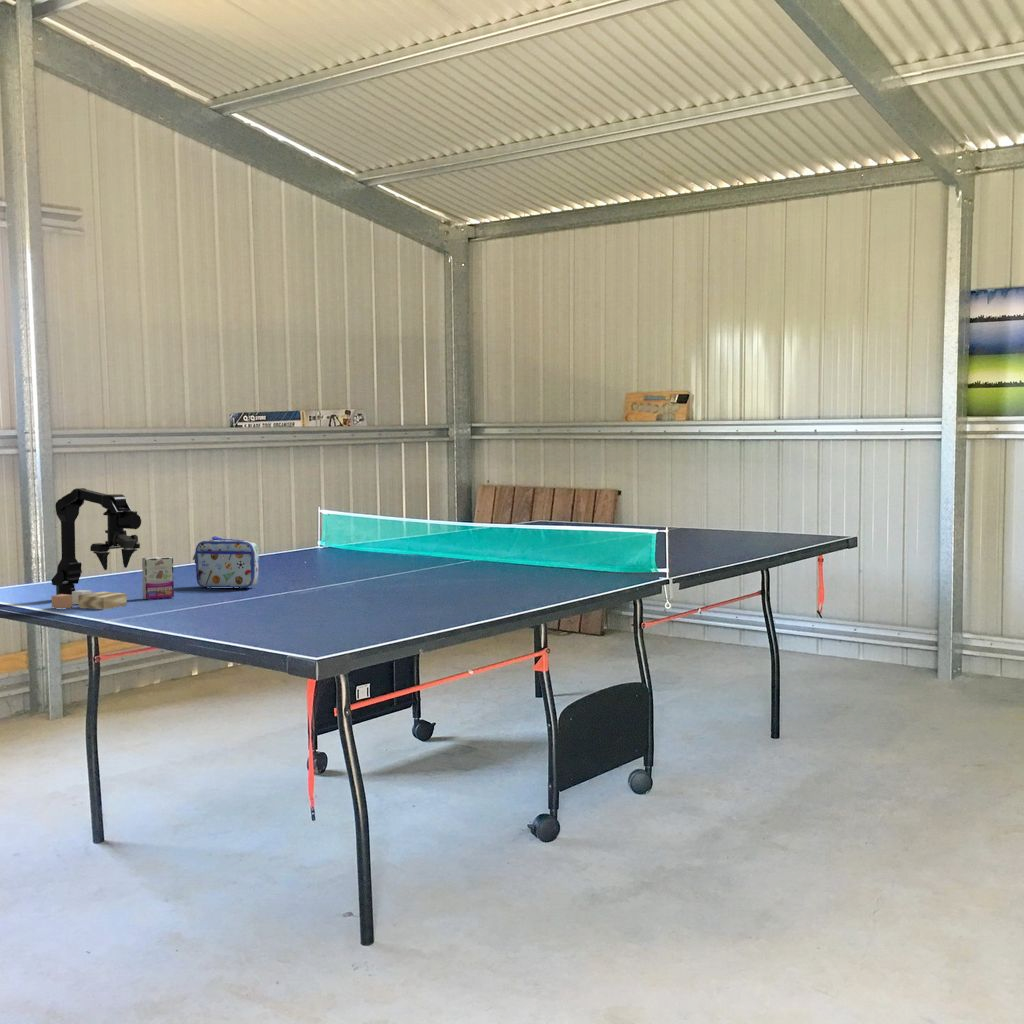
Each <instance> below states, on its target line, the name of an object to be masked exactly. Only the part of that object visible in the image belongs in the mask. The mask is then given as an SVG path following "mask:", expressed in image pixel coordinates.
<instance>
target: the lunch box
mask: <svg viewBox="0 0 1024 1024" xmlns="http://www.w3.org/2000/svg"><path fill="white" fill-rule="evenodd" d="M259 550H260V549H259V546H258V545H257V543H255V542H253V541H250V540H242V539H241V540H240V539H233V538H222V537H219V536H215V535H214V536H212V537H211V539H208V540H202V541H200V542H198V544H196V547H195V551H194V554H193V557H192V560H193V561H194V564H195V571H196V572H195V573H196V576H195V577H196V582H197V584H198V586H199V587H201V588H203V587H240V588H239V589H246V588H250V587H253V586H255V585H256V584H257V583H258V581H259V557H260V555H259V554H260V551H259ZM249 586H250V587H249Z"/></svg>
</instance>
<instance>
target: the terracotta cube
mask: <svg viewBox="0 0 1024 1024" xmlns="http://www.w3.org/2000/svg"><path fill="white" fill-rule="evenodd" d="M52 607H54V608H62V609H63V608H70V609H72V608H73V604H72V595H67V594H60V595H56V594H55V595H54V594H53V595H51V608H52ZM71 607H72V608H71Z"/></svg>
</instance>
